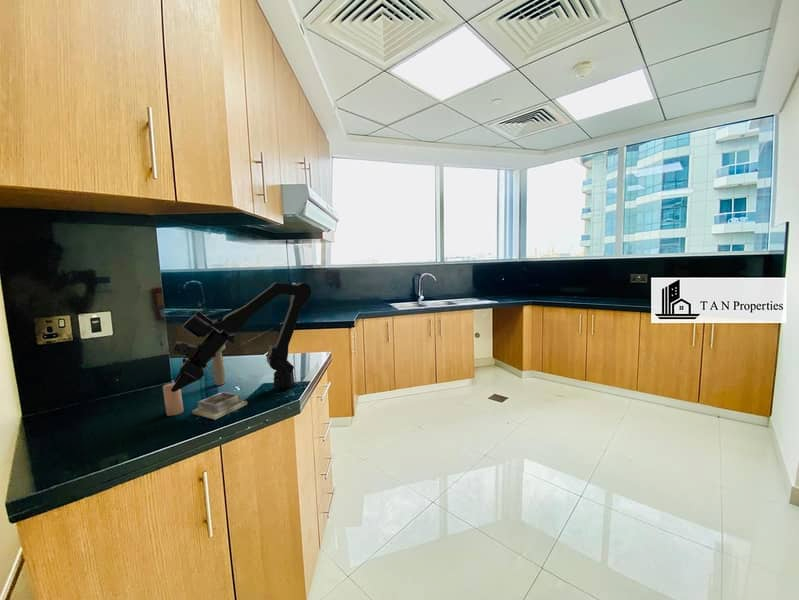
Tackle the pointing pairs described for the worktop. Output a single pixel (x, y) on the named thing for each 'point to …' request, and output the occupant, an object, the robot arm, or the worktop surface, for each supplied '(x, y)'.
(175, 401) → the peg
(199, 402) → the socket board
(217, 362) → the handle
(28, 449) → the worktop surface
